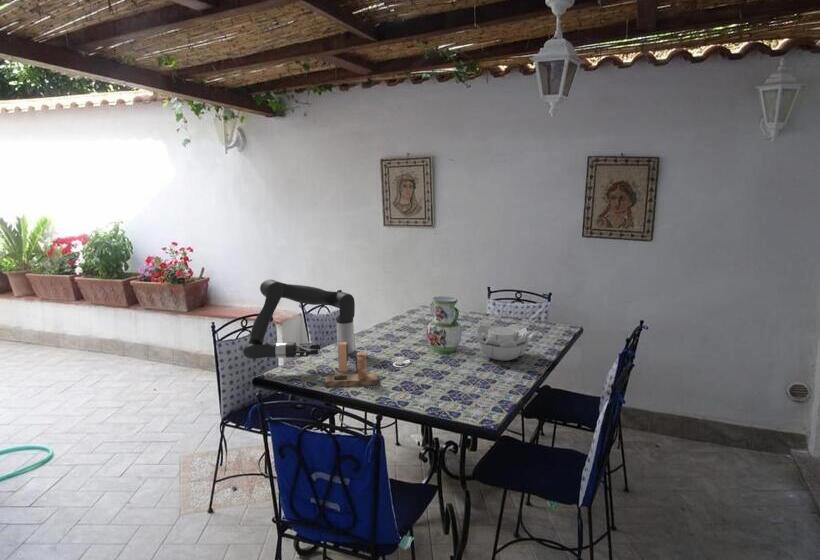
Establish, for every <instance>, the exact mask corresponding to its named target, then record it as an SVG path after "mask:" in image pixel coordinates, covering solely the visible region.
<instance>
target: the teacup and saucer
mask: <svg viewBox="0 0 820 560" xmlns="http://www.w3.org/2000/svg"><path fill="white" fill-rule="evenodd" d="M394 361H395V362H393V363H392V365H393V366H394V367H397V368H404V367H407V366H409V364H411V360H409V359H407V360H404V356H397V357H396V358H395V360H394ZM396 364H397V365H396Z"/></svg>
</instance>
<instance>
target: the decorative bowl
mask: <svg viewBox="0 0 820 560" xmlns="http://www.w3.org/2000/svg"><path fill="white" fill-rule="evenodd" d="M475 332H476V333H475V334H474V338H475V340H476V341H477V343H478V347H479V349H480V351H481V353H482V354H483V355H484V356H485V357H487V358H491V359H493V360H496V361H501V362H503V361H504V362H506V361H507V362H508V361H511V360H514V359H517V358H519V357H521V356H523V354H524V353H525V352H526V350H527V348H528V345H529V344H528V343H530V342H531V341H532V340H533V338H534V336H535V332H532V333H531V334H529V335H528V332H527V327H523V328H521V329H520V328H519V325H517V324H516V323H512V324H510V325H508V326H505V327H504V326H503V325H501V324H499V323H495V324H494V325H493V326H492V327H491V326H485V324H484V325H483V324H479V326H478V329H477V328H476V330H475Z"/></svg>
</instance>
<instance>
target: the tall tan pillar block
mask: <svg viewBox="0 0 820 560" xmlns="http://www.w3.org/2000/svg"><path fill="white" fill-rule="evenodd" d="M337 354H338V356H337V357H338V359H337V360H338V372H340V373H342V372H343V373H344V372H348V368H349V367H348V366H349V365H348V362H349V354H348V344H347V342H338V347H337Z"/></svg>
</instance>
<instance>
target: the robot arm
mask: <svg viewBox="0 0 820 560" xmlns="http://www.w3.org/2000/svg"><path fill="white" fill-rule="evenodd" d="M259 290H260V293H261V294H262V296H264V297H265V301H264V304H263V307H262V308H261V310H260V311H259V313H258V315H257V316H256V318H255V320H254V321H253V324H252V327H251V330H250V333H249V335H250V338H249V342H248V344H247V345H246V346H244V348H243V350H242V353H243V355H244V357H245V358H247V359H250V360H251V359H252V360H253V359H262V358H270V359H271V358H273V359H274V358H280V359H294V358H296V357H298V358H302V357H304V358H305V357H306V358H308V357H309V356H311V355H312V356H313V355H314V356H315V355H319V350H321V344H313V343H311V342H306V343H303V342H302V343H299V345H297V342H294V341H293V342H290V341H289V342H276V343H275V342H271V343H270V342H269V343H265V344H264V338H265V337H266V334H267V330H268V328H269V324H270V323H271V319H272V318H273V315H274V313H275V311H276V308H277V307H278V304H279V303H280V301H281V299H282V298H283V299H287V300H290V301H293V302H295V303H300V304H303V305H304V304H305V305H312V306H319V305H325V306H326V305H327V306H332V307H334V308H337V309H339V315H337V316H336V318H335V319H336V340H337V341H336V342H337V343H336V344H337V346H336V347H337V348H338V342H347V344H348V355H351V354H354V352H355V351H356V336H355V331H354V330H355V327H354V326H355V325H354V317H355V312H356V310H355V308H356V307H355V306H356V305H355V298H354V296H353V295H352V294H351V293H347V292H344V291H331V290H325V289H322V288H318V287H315V286H308V285H302V284H301V285H300V284H291V283H290V284H289V283H284V282H281V281H276V280H275V279H267V280H264V281H263V282H261V284H260V287H259Z"/></svg>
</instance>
